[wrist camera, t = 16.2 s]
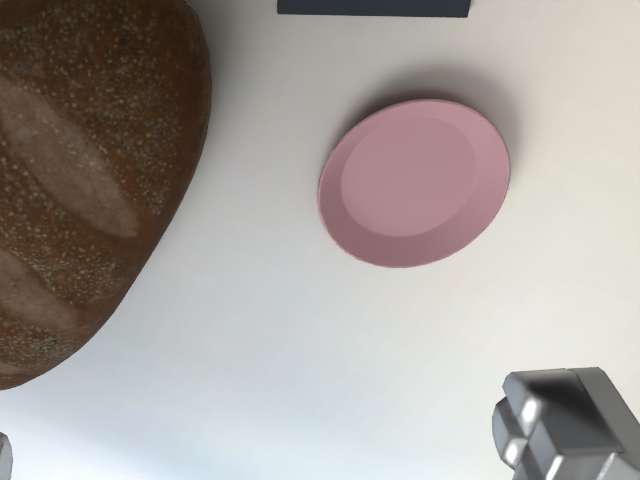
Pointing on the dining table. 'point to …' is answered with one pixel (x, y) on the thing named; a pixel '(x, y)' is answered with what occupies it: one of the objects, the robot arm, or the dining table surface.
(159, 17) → the bread
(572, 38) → the dining table surface
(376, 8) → the mat
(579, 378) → the robot arm
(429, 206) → the plate
